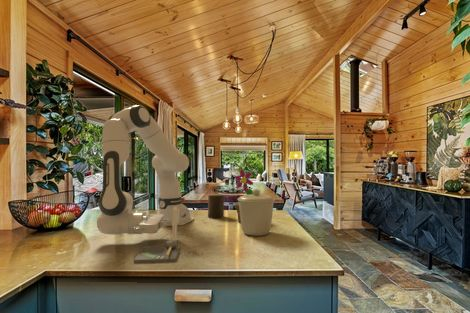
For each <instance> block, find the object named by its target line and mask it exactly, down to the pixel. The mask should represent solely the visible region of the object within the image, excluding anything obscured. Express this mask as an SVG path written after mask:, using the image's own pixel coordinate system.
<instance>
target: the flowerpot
mask: <svg viewBox="0 0 470 313" xmlns="http://www.w3.org/2000/svg"><path fill="white" fill-rule="evenodd" d="M239 173H240V176H239V175H234V179H235V181H239V182H238V183H237V184H236V188H237V189H240V188H241V187H243V191H245V192H246V195H250V194H253V190H252V189H249V188H248V185H249V186H253V185H254V182H253V181H252V180H250V179H249V178H250V177H251V175H252V172H251V171H250V172H247V173H246V174H245V171H244V170H243V169H240V172H239ZM234 208H235V209H236V213H237V222H238V224H241V219H240V210H239V202H236V203H235V204H234Z"/></svg>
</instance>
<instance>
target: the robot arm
mask: <svg viewBox="0 0 470 313" xmlns="http://www.w3.org/2000/svg"><path fill="white" fill-rule="evenodd" d="M135 131H136V132H137V133H138V135H139V137H140V138H141V140H142V141H143V143H144V145H145V146H146V147H147V149H148V150H149V151H150V152H151V153H153V154H154V155H153V157H152V159H151V166H152V168H153V169H154V170H155V172H156V174H157V180H158V185H159V187H158V189H159V197H158V199H157V200H158V201H157V202H158V208H157V213H148V212H146V211H145V212H143V211H142V212H132V209H133V205H134V199H133V196H132V195H131V194H130V193H129V192H127V191H124V190H122V187H121V168H122V165H123V164H124V162H126V161H128V159H129V157H130V151H131V146H130V137H129V134H130V133H133V132H135ZM101 134H102V135H101V136H102V137H101V143H102V144H101V145H102V157H103V160H102V165H103V166H102V191H101V193H100V196H99V199H98V202H97V203H98V208H99V210H100V212H101V213H100V215H98V217H97V219H96V226H97V229H98V231H99V232H100V233H101V234H103V235H110V236H112V235H113V236H120V235H124V234H127V235H143V234H157V233H158V232H159V230H160V229H161V228H164V227H168V226H169V227H170V226H171V227H172V224H173V208H174V207H175V206H177V226H183V225H186V224H188V223H190V222H192V221H194V220H195V217H193V216H191V211H190V209H189V208H188V207H187V206H186V205H185V204H183V202H184V201H186V197H185V196H184V197H183V196H181V183H180V181H179V180H178V178H177V177H176V173H182V172H185V171H186V170H187V169H188V168H189V166H190V165H189V164H190V159H189V157H188V156H187V154H185V153H183V152H182V151H180V150H179V149H178V148H176V147H175V145H174V144H172V142H171V141H170V140H169V139H168V138H167V136H166V135H165V132H164V131H163V130H162V128H161V127H160V125H159V124H158V122H157V121H156V120H155V119H154V118H153V116H152V115H151V113H150V112H149V110H148V108H146V107H145V106H143V105H139V104H138V105H137V104H135V105H132V106H130V107H125V108H123V109H122V110H120V111H118V112H115V113H113V114H111V115H110V116H109V117H108V119H107V120H106V121H105V122H104V124H103V126H102V133H101Z"/></svg>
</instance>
